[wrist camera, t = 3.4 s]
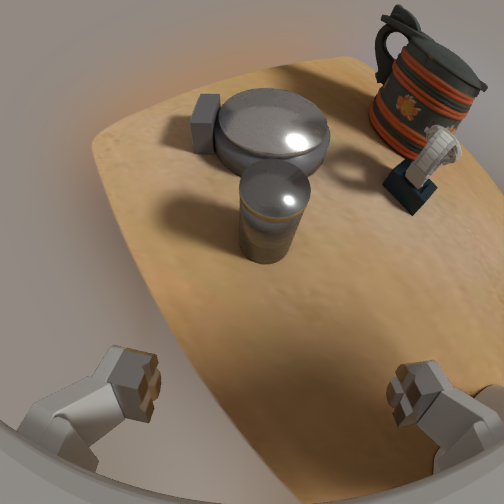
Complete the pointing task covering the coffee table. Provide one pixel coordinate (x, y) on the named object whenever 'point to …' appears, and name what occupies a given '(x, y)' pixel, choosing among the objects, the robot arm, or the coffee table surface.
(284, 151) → the pan
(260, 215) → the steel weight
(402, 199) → the watch
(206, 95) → the scale
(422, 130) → the beer stein
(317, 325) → the coffee table surface
